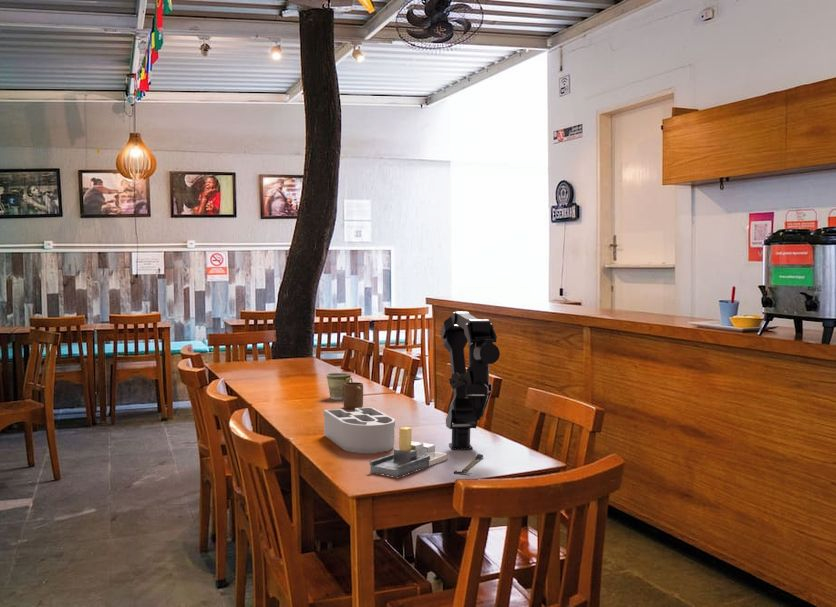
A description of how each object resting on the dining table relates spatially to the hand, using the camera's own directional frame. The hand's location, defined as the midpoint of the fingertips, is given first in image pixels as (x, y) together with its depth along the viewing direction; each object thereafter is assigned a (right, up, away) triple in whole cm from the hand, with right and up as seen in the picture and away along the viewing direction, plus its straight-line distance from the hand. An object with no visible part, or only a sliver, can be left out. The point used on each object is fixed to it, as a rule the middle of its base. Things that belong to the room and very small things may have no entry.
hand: (479, 418), depth 224 cm
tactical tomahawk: (-2, -13, -4) cm, 14 cm away
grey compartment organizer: (-35, -11, +22) cm, 43 cm away
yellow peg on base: (-21, -11, -7) cm, 25 cm away
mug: (-42, -8, +80) cm, 91 cm away
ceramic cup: (-49, -7, +102) cm, 113 cm away
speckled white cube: (-16, -10, 0) cm, 19 cm away
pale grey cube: (-19, -11, -4) cm, 22 cm away
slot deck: (-22, -13, -9) cm, 27 cm away
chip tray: (-15, -12, +2) cm, 20 cm away
